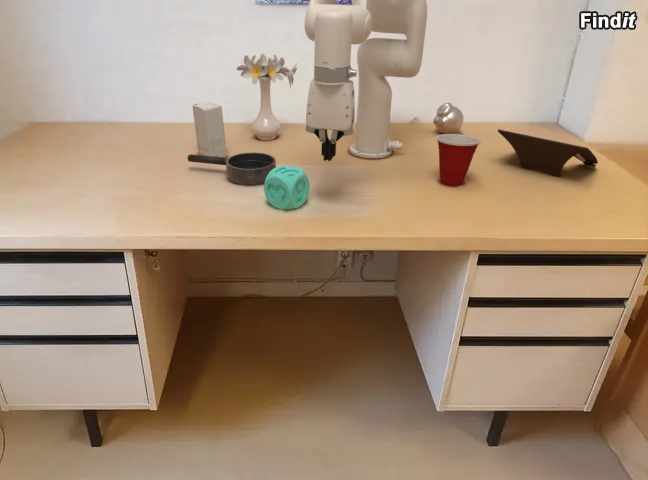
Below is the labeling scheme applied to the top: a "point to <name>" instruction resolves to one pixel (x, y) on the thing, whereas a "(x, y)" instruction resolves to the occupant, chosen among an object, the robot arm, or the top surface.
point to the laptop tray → (546, 152)
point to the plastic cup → (455, 157)
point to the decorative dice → (286, 187)
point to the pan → (249, 168)
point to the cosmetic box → (209, 129)
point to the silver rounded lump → (448, 119)
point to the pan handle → (207, 159)
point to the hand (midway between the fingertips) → (328, 158)
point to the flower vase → (266, 91)
